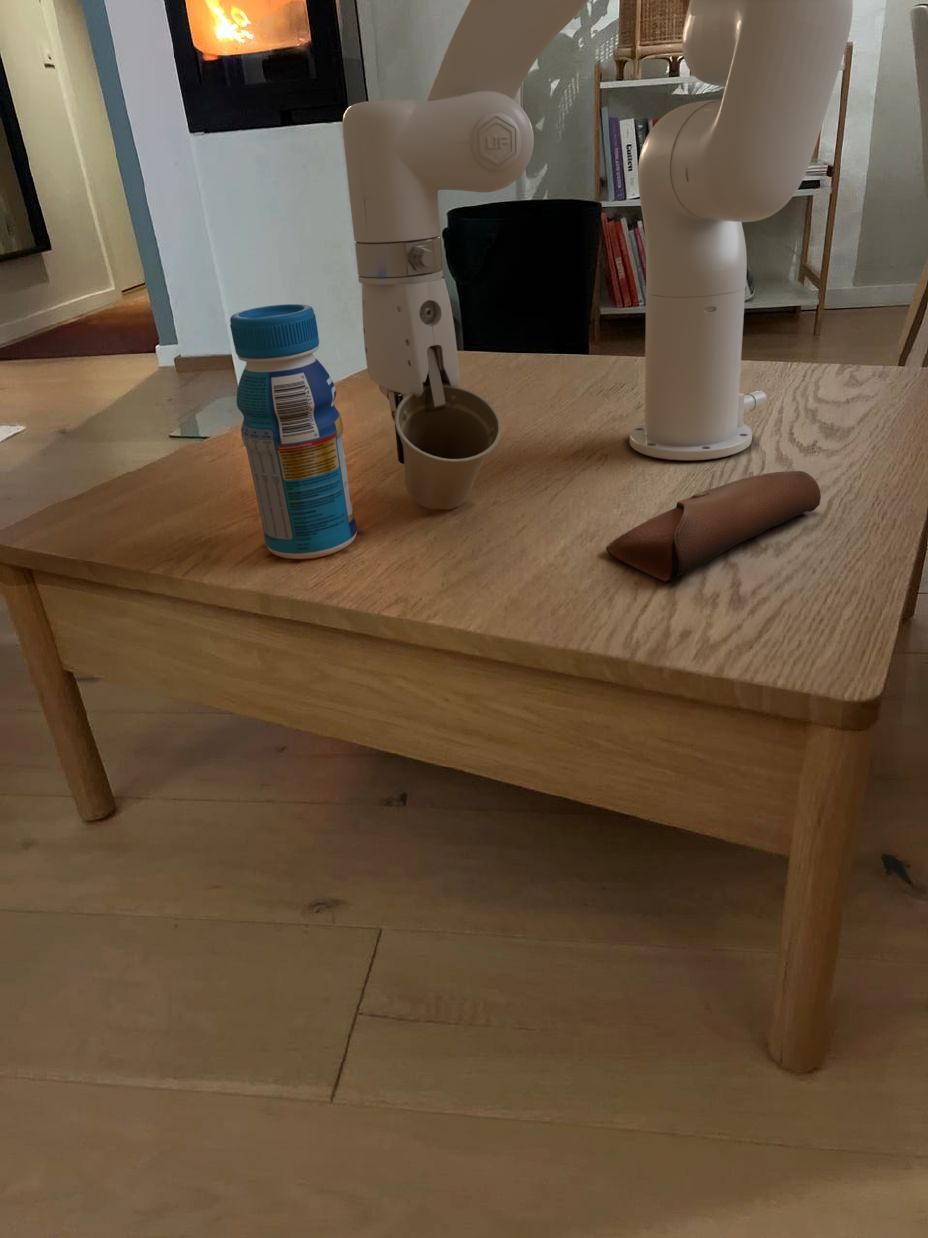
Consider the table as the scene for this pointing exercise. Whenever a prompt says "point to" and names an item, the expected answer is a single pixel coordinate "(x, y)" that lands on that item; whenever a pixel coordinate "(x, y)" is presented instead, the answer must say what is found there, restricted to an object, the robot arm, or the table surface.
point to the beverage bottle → (292, 433)
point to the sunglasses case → (714, 523)
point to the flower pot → (445, 445)
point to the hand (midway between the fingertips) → (416, 461)
